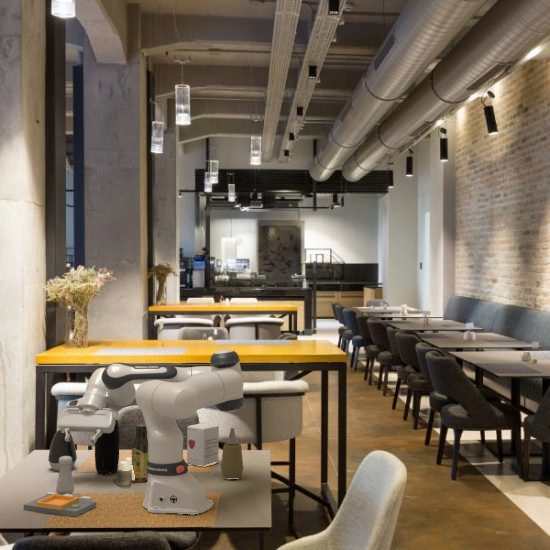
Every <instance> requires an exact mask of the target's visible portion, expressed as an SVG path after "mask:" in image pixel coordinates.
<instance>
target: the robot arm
mask: <svg viewBox="0 0 550 550" xmlns="http://www.w3.org/2000/svg"><path fill="white" fill-rule="evenodd" d="M240 361H241V359H240V356H239V354H238V353H237V352H236V351H235V350H232V349H226V348H225V349H220V350H218V351H216V352H214V353H212V355H210V361H209V364H210V365H209V366H208V365H207V366H206V365H205V366H203V365H201V366H200V365H199V366H198V365H197V366H192V367H191V366H190V367H180V366H179V367H178V366H174V365H172V364H168V363H167V364H166V363H165V364H164V363H149V364H148V363H145V364H143V363H142V364H137V363H136V364H131V363H126V362H119V361H118V362H113V363H111V364H109V365H108V366H107V367H100V368H97V369H95V370H94V371H93V373H91V376H90V377H89V380H88V382H87V384H86V388H85V393H84V394H83V395H82V397H80V398H77V399H74V400H73V399H72V400H70V401H67V402H66V404H65V408H64V409H63V410H62V412H61V413H60V415H59V418H58V419H57V422H56V425H57V428H58V429H59V430H60V431H65V433H66V436H65V441H69V442H70V441H71V436H70V435H69V434H72V433H73V432H77V433H94V435H91V437H90V440H89V441H90V442H91V444H92V443H94V444H95V443H96V441H97V439H98V438H99V437H100V436H101V435H102V433H111V432H112V431H113V430H114V426H115V420H117V419H118V416H119V411H118V410H117V409H116V408H114V407H118V408H125V407H126V408H127V407H128V406H131V405H132V404H133V403H134V401H135V402H136V405H137V407H138V408H139V410H140V411H141V413H142V414H141V415H142V416H143V419H144V420H143V421H144V424H146V429H147V440H148V460H147V481H146V486H145V487H146V488H145V494H144V498H143V501H142V506H143V508H145V509H146V510H147V512H148V513H153V514H166V513H178V514H177V515H183V514H188V516H196V515H195V514H197V515H200V514H199V513H201V514H203V513H205V511H206V512H208V511H209V510H211V509H212V508H213V507H214V505H213V504H214V500H213V499H208V498H207V497H208V496H207V492H206V487H205V485H204V483H202V482H201V481H200V480H199V479H197V478H196V477H195V476H194V475H192V474H191V473H190V472H189V467H191V465H189V464H190V462H189V463H187V461H185V459H184V436H183V432H182V431H181V429H180V428H179V426H178V423H177V420H186V419H189V418H191V417H193V416H194V415H195V413H197V411H198V410H201V409H203V408H207V407H212V406H215V407H216V409H217V410H218V411H220V412H225V413H233V412H236V411H238V410H240V409H242V408H243V406H244V401H245V397H244V380H243V372H242V368H241V364H240ZM136 382H141V384H140V385H138V387H137V389H136V387H135V383H136ZM107 405H109V406H111V407H112V406H113V408H108V407H106V406H107ZM71 432H72V433H71ZM95 433H96V434H95ZM212 506H213V507H212ZM211 507H212V508H211ZM210 508H211V509H210ZM207 510H208V511H207ZM202 512H203V513H202ZM189 514H190V515H189Z"/></svg>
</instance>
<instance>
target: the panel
mask: <svg viewBox="0 0 550 550" xmlns="http://www.w3.org/2000/svg"><path fill="white" fill-rule="evenodd" d="M94 507H95V508H96V507H97V501H94V500H93V499H92V496H85V495H83V496H81V497H80V496H75V494H72V495H71V494H65V495H58V494H57V492H54V491H48V492H46V493H45V495H43V496H41V497H38V498H36V499H35V500H31V501H29V502H27V503H25V504H23V511H29V512H36V511H37V513H45V514H52V515H58V514H60V516H65V515H67V517H72V516H74V517H75V518H77V517H78V515H79V516H81V515H83V514H85V513H86V512H88V510H89V511H90V509H91V510H93V509H95V508H94ZM92 508H93V509H92ZM84 512H85V513H84ZM82 513H83V514H82ZM80 514H81V515H80ZM76 516H77V517H76Z"/></svg>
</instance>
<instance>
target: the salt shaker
mask: <svg viewBox="0 0 550 550" xmlns="http://www.w3.org/2000/svg"><path fill="white" fill-rule="evenodd" d="M71 463H72V457H70V456H62V457H60V458H59V464H60V465H61V466H60V471H58V476H57V484H56V490H55V491H56V492H55V493H57V495H65V494H71V495H73V493H74V491H75V483H74V479H73V478H74V477H73V472H72V468H71V465H70V464H71Z"/></svg>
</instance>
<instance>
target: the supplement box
mask: <svg viewBox="0 0 550 550" xmlns="http://www.w3.org/2000/svg"><path fill="white" fill-rule="evenodd" d="M186 429H187V437H186V438H187V440H186V441H187V442H186V443H187V444H186V445H187V446H186V448H187V449H186V463H189V462H190V464H194V465H202V466H205V465H207V464H210V463H213V462H217V461H218V462H219V442H220V441H219V439H220V438H219V435H220V434H219V433H220V432H219V429H220V426H219V425H217V424H210V423H205V422H200V423H197V424H191V425H188V426H187V428H186Z"/></svg>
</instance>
